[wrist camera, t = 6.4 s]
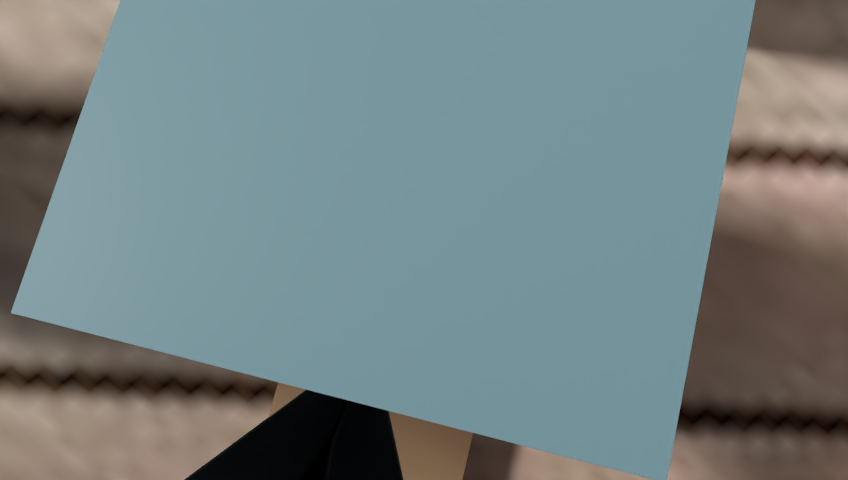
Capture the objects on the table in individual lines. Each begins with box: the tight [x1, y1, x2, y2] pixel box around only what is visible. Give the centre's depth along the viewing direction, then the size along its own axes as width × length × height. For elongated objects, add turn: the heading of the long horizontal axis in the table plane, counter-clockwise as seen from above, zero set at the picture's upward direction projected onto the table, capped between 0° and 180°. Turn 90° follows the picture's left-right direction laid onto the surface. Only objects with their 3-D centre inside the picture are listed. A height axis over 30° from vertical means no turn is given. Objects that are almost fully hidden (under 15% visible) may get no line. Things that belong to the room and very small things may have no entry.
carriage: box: [11, 0, 756, 480], centre depth 13 cm, size 6×7×10 cm
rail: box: [269, 382, 473, 480], centre depth 17 cm, size 24×5×2 cm, turn 166°
